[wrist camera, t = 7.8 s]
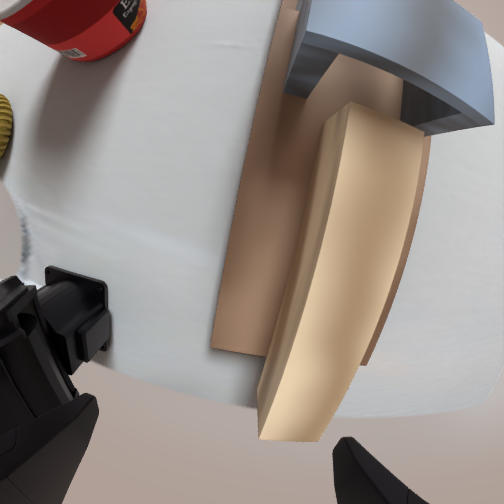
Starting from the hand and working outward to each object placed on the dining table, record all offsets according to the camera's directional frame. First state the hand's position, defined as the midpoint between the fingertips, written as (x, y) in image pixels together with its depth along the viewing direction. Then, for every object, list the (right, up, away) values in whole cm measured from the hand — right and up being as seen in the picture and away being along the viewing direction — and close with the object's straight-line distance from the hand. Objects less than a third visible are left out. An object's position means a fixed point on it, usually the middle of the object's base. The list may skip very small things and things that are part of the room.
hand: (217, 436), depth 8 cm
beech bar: (+5, +4, +9) cm, 12 cm away
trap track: (+7, +13, +9) cm, 18 cm away
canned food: (-11, +25, +6) cm, 28 cm away
